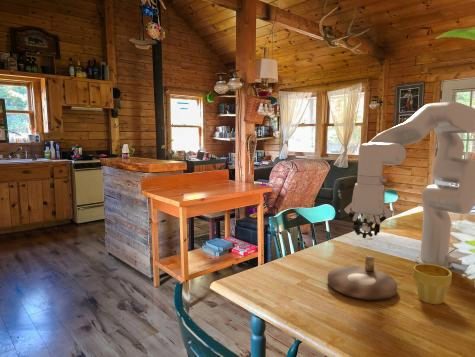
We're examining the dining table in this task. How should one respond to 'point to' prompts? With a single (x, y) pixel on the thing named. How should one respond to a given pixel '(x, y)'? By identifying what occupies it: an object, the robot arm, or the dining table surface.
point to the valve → (365, 225)
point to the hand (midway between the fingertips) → (366, 232)
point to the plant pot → (432, 282)
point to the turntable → (362, 281)
